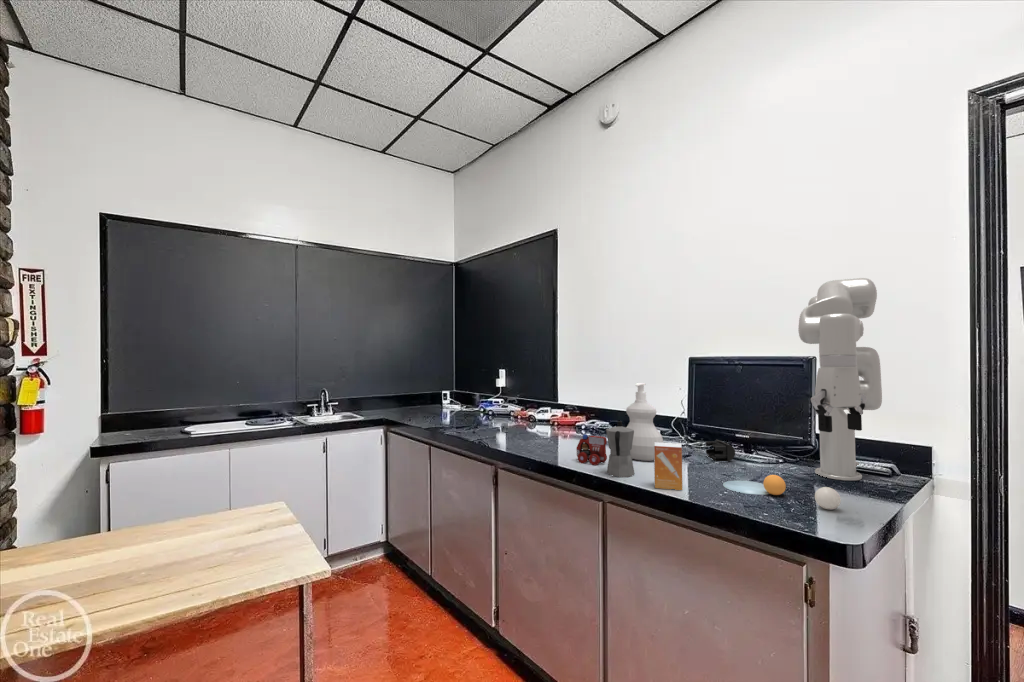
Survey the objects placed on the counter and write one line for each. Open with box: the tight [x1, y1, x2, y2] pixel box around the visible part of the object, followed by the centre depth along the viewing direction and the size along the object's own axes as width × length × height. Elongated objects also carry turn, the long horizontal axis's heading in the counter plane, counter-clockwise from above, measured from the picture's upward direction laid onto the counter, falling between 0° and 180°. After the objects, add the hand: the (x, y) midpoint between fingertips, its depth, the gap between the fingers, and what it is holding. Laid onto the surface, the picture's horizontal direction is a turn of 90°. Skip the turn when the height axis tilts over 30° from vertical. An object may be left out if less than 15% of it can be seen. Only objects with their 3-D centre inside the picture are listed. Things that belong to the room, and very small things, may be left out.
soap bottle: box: [625, 382, 664, 462], centre depth 176 cm, size 17×12×29 cm
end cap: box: [705, 439, 736, 462], centre depth 174 cm, size 10×7×7 cm
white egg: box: [814, 486, 842, 511], centre depth 118 cm, size 6×6×6 cm
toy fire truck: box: [576, 433, 608, 466], centre depth 171 cm, size 7×12×10 cm, turn 49°
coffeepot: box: [605, 420, 635, 478], centre depth 154 cm, size 15×9×18 cm, turn 160°
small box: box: [653, 442, 683, 491], centre depth 139 cm, size 8×6×13 cm
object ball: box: [762, 474, 787, 496], centre depth 131 cm, size 6×6×6 cm
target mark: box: [722, 479, 771, 496], centre depth 137 cm, size 14×14×1 cm
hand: (840, 430), depth 114 cm, fingers open, 9 cm apart
